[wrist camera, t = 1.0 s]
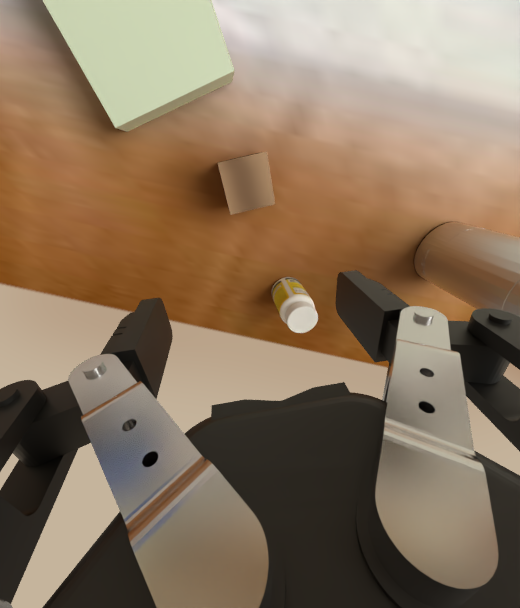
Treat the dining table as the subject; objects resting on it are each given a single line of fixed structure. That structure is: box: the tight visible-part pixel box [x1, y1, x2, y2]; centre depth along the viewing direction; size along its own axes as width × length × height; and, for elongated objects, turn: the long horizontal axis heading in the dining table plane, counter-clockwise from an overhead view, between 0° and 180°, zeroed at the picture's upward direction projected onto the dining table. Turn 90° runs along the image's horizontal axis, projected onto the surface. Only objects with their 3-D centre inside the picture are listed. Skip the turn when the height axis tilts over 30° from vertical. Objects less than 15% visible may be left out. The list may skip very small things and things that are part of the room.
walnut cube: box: [218, 152, 275, 215], centre depth 28 cm, size 5×5×5 cm
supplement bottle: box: [272, 277, 318, 333], centre depth 35 cm, size 5×5×8 cm
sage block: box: [43, 0, 234, 132], centre depth 22 cm, size 12×12×4 cm
